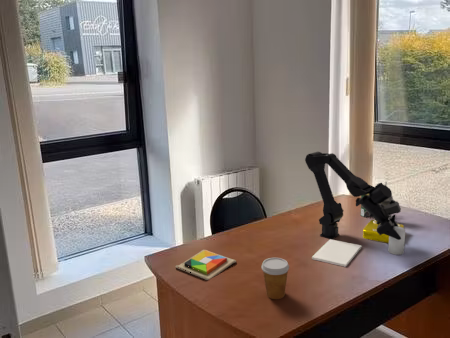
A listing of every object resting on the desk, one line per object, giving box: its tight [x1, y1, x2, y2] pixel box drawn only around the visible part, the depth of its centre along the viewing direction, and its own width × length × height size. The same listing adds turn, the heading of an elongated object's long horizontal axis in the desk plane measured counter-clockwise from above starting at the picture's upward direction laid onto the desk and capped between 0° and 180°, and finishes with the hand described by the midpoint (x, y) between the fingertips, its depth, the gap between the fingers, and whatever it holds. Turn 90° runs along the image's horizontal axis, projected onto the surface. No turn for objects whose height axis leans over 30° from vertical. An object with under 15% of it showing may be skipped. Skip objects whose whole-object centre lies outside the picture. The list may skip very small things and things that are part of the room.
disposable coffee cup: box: [261, 257, 290, 300], centre depth 154 cm, size 10×10×12 cm
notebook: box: [311, 239, 362, 268], centre depth 184 cm, size 14×20×1 cm
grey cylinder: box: [387, 226, 406, 256], centre depth 182 cm, size 6×6×10 cm
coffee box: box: [360, 194, 370, 218], centre depth 222 cm, size 8×3×13 cm, turn 112°
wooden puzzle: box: [175, 249, 237, 281], centre depth 178 cm, size 18×19×4 cm
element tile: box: [362, 219, 405, 244], centre depth 199 cm, size 15×15×5 cm
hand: (400, 236), depth 181 cm, fingers closed on grey cylinder, 6 cm apart
